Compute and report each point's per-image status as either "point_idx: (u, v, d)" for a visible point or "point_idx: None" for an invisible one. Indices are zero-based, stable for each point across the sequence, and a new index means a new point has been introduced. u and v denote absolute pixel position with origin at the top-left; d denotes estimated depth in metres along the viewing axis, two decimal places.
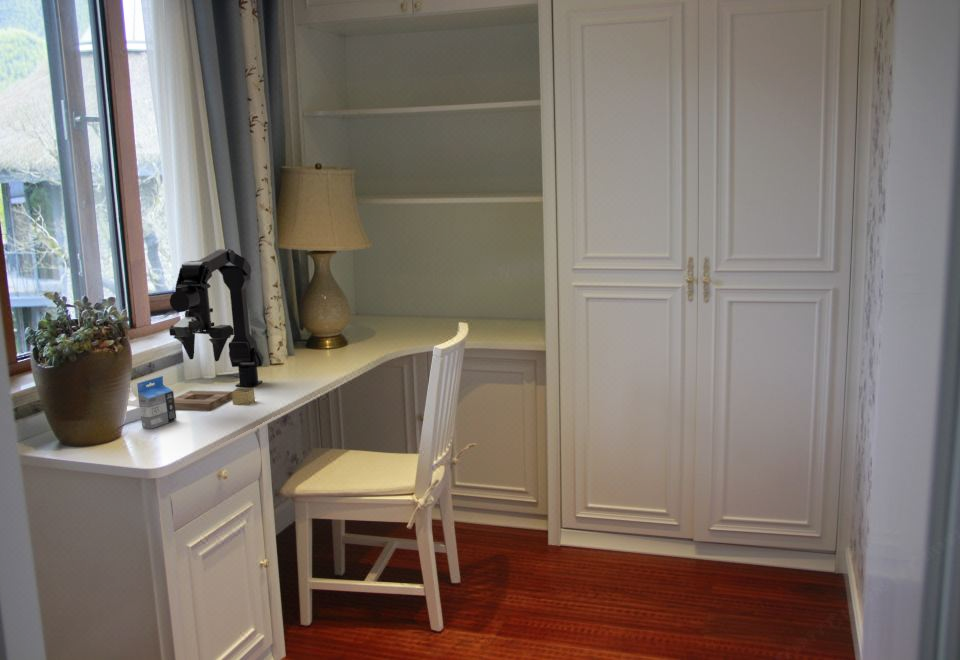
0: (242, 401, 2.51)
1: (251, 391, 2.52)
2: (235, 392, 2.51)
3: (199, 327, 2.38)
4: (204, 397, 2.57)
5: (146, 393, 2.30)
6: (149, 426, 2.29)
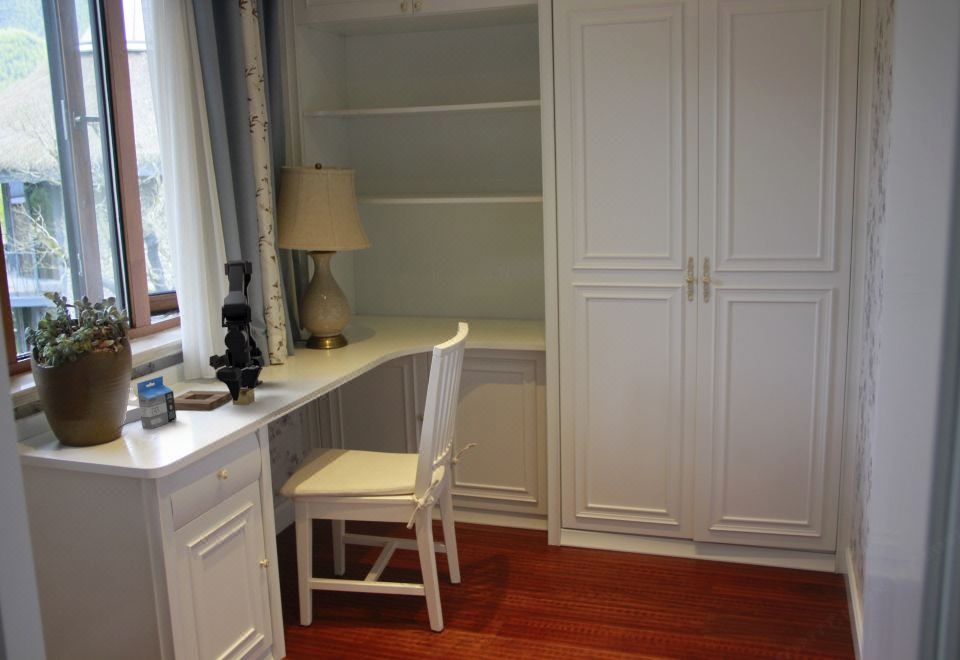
0: (242, 401, 2.51)
1: (251, 391, 2.52)
2: None
3: (216, 364, 2.48)
4: (204, 397, 2.57)
5: (146, 393, 2.30)
6: (149, 426, 2.29)
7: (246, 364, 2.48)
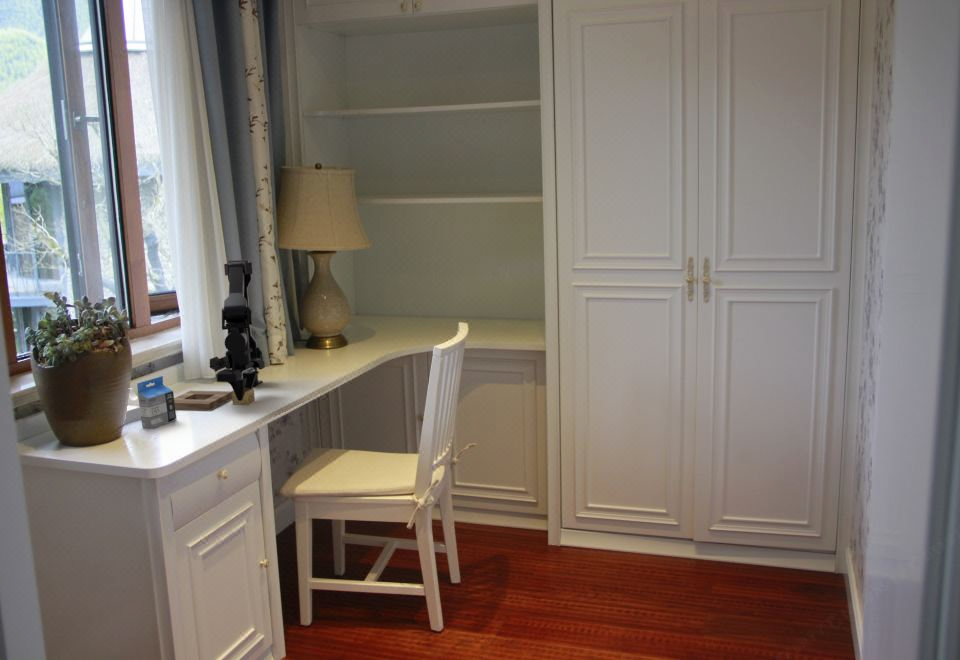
0: (242, 401, 2.51)
1: (251, 391, 2.52)
2: None
3: (216, 366, 2.48)
4: (204, 397, 2.57)
5: (146, 393, 2.30)
6: (149, 426, 2.29)
7: (246, 366, 2.48)
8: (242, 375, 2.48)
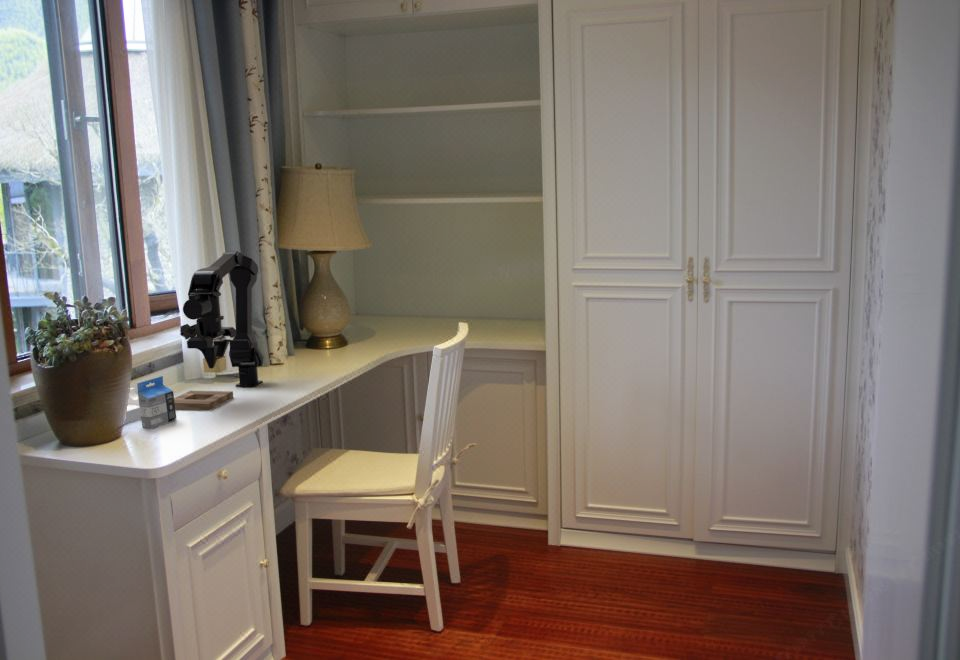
0: (213, 369, 2.49)
1: (223, 358, 2.51)
2: None
3: (187, 333, 2.46)
4: (204, 397, 2.57)
5: (146, 393, 2.30)
6: (149, 426, 2.29)
7: (217, 333, 2.47)
8: (213, 342, 2.46)
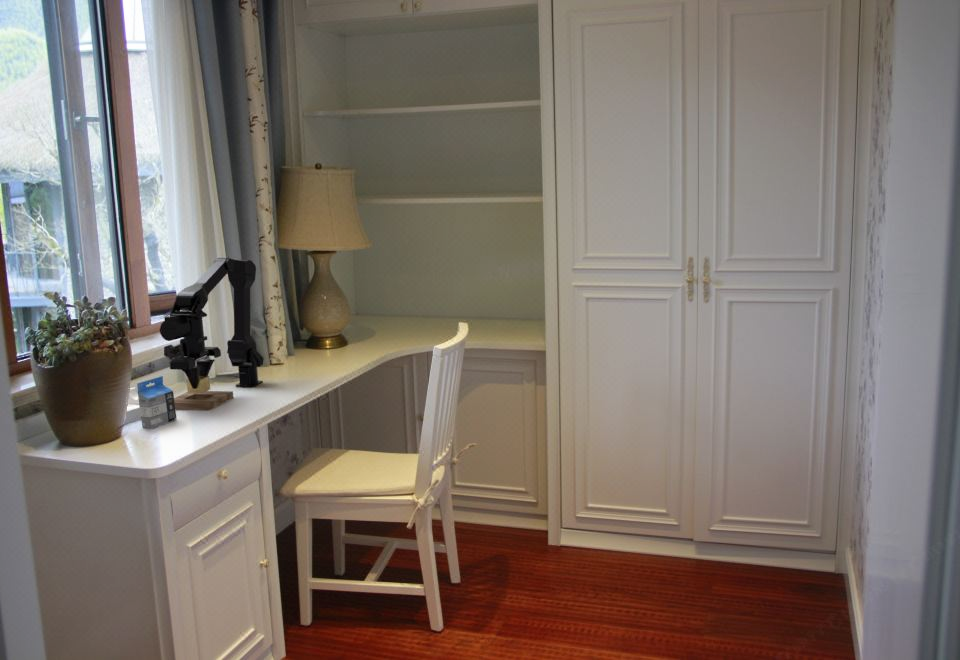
0: (196, 389, 2.51)
1: (206, 379, 2.52)
2: None
3: (170, 354, 2.48)
4: (204, 397, 2.57)
5: (146, 393, 2.30)
6: (149, 426, 2.29)
7: (200, 354, 2.49)
8: (196, 363, 2.48)
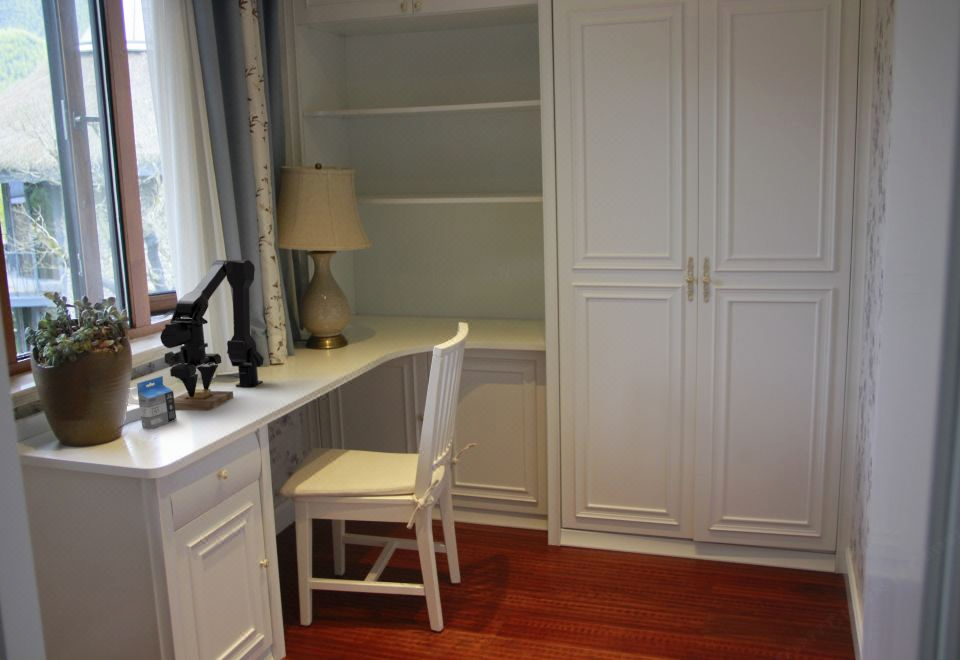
0: None
1: (207, 392, 2.53)
2: None
3: (171, 361, 2.48)
4: None
5: (146, 393, 2.30)
6: (149, 426, 2.29)
7: (201, 361, 2.49)
8: None
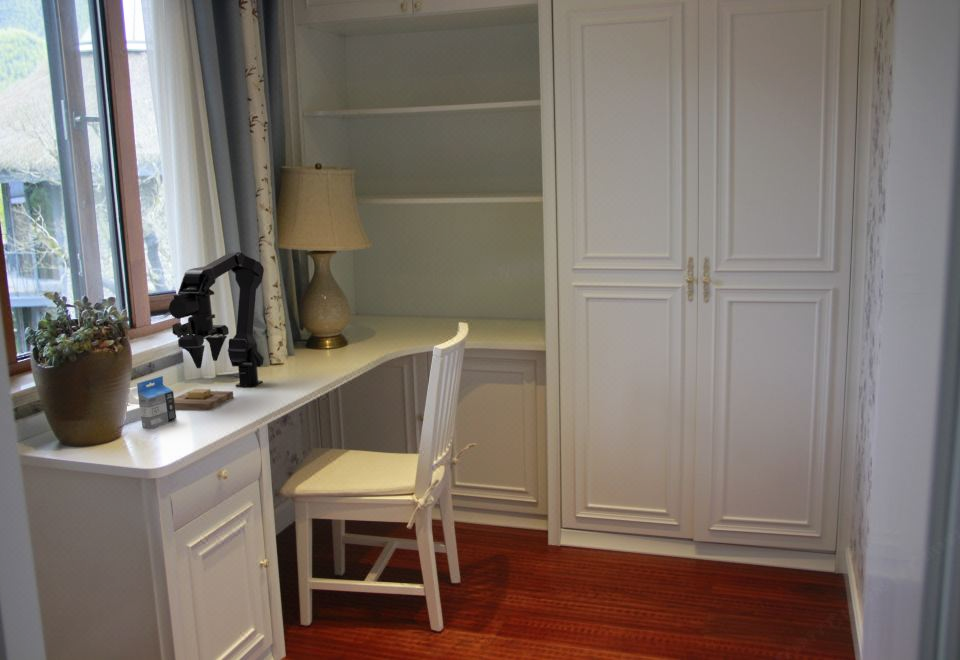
0: None
1: (207, 392, 2.53)
2: (191, 393, 2.52)
3: (179, 331, 2.50)
4: None
5: (146, 393, 2.30)
6: (149, 426, 2.29)
7: (209, 332, 2.51)
8: None
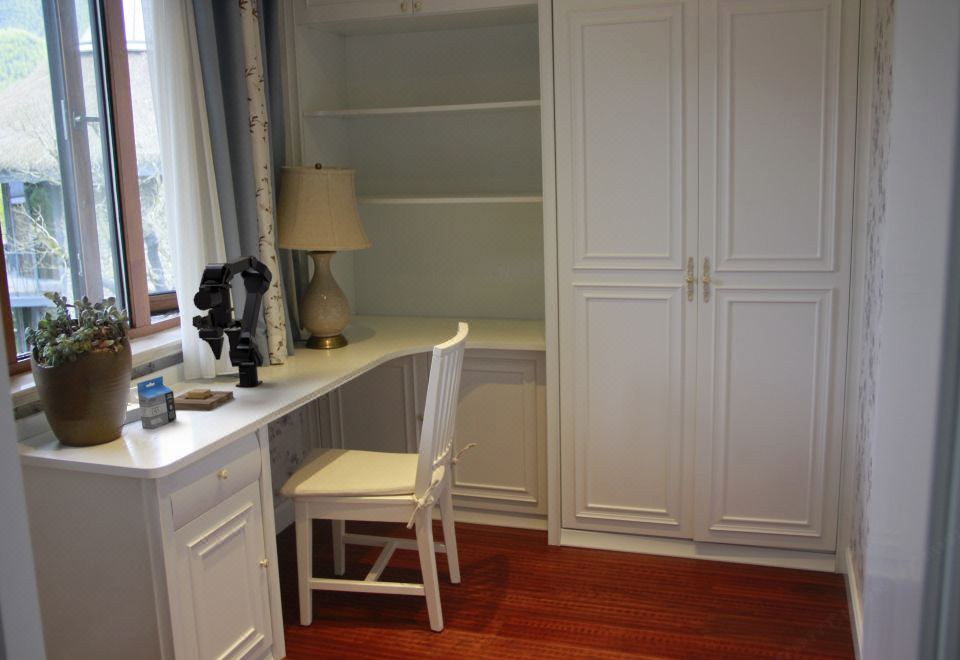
0: None
1: (207, 392, 2.53)
2: (191, 393, 2.52)
3: (199, 324, 2.55)
4: None
5: (146, 393, 2.30)
6: (149, 426, 2.29)
7: (228, 324, 2.56)
8: None
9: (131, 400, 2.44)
